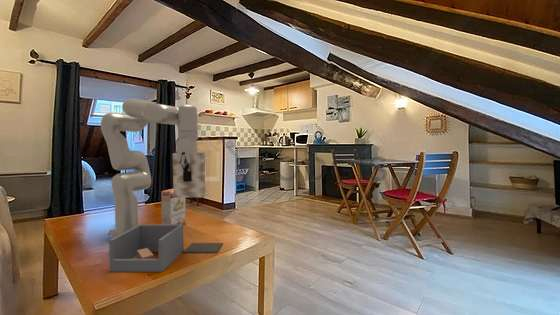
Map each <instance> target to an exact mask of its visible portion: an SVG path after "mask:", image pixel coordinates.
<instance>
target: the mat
mask: <svg viewBox="0 0 560 315" xmlns="http://www.w3.org/2000/svg"><path fill="white" fill-rule="evenodd" d="M223 245H224V243H223V242H191V244H189V245H187V247H186V248H184V251H183V252H182V253H183V254H218V253H219V251H220V250H221V248H222V247H223Z"/></svg>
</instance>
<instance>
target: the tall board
mask: <svg viewBox="0 0 560 315" xmlns="http://www.w3.org/2000/svg"><path fill="white" fill-rule="evenodd" d="M185 164H188V162H185ZM187 166H188V165H187ZM205 166H206V165H205V152H198V153H193V161H192V163H191V165H190V171H191V176H192V181H189V182H184V181H183V168H182V166H181V164H179V163H178V152H174V153H172V177H173V178H172V181H173V182H172V184H173V188H172V189H174V198H183V197H185V198H205V197H206V170H205V169H206V167H205Z"/></svg>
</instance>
